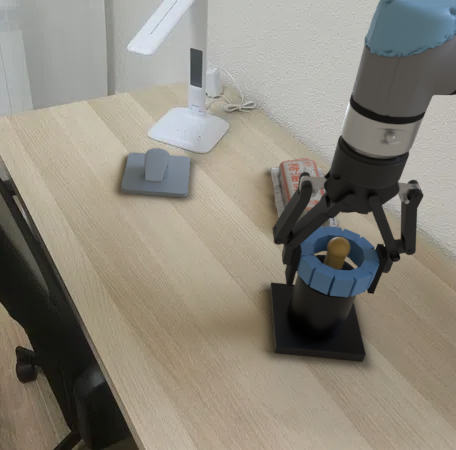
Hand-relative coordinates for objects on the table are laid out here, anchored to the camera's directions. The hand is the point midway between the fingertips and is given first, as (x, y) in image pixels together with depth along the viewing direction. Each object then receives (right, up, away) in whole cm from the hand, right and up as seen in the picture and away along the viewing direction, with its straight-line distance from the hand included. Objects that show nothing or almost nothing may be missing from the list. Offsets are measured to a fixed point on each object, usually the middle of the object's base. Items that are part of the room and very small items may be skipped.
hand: (328, 282), depth 74 cm
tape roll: (0, +2, -2) cm, 3 cm away
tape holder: (-1, -6, +6) cm, 9 cm away
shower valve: (-23, +16, +31) cm, 42 cm away
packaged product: (+3, +12, +28) cm, 30 cm away
